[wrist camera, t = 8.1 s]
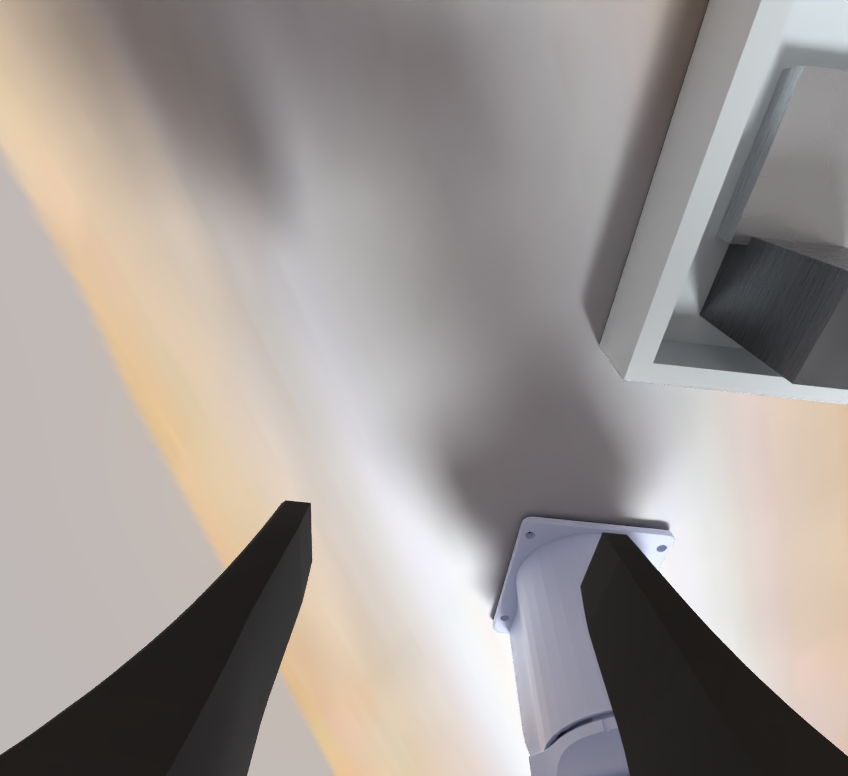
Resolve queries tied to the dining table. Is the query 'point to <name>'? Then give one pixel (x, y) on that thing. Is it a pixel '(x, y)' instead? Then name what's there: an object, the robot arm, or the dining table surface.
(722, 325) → the grey l-shaped block
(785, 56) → the bin
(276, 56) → the dining table surface
